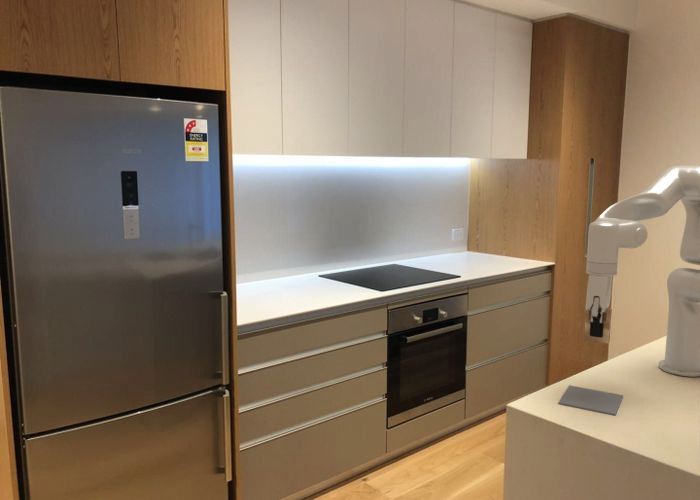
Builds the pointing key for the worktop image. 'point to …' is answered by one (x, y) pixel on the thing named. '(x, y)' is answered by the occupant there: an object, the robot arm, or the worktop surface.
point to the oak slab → (606, 327)
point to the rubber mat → (591, 400)
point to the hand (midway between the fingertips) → (597, 334)
